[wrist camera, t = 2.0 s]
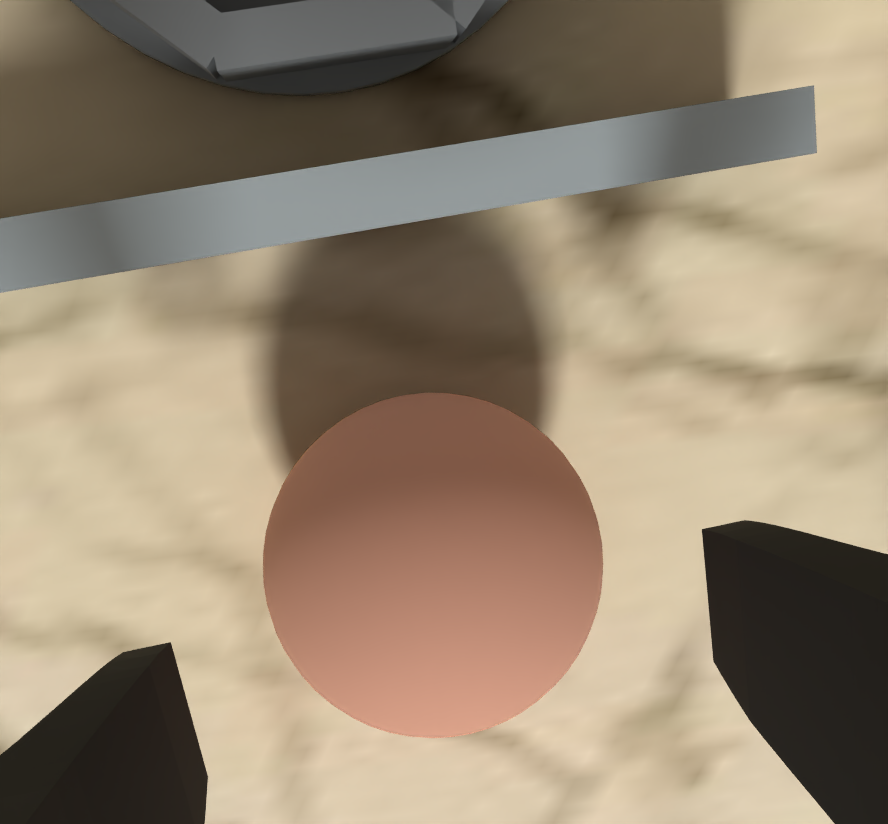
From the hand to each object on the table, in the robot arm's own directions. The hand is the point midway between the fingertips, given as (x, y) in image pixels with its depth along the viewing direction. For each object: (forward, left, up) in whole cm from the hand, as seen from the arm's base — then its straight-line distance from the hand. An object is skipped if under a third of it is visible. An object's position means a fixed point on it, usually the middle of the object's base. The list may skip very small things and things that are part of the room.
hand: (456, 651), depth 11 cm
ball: (0, 0, -6) cm, 6 cm away
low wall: (+6, 0, -6) cm, 8 cm away
